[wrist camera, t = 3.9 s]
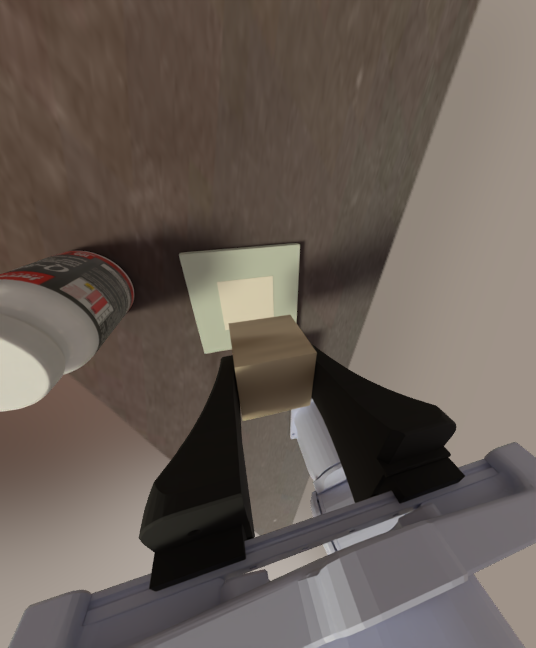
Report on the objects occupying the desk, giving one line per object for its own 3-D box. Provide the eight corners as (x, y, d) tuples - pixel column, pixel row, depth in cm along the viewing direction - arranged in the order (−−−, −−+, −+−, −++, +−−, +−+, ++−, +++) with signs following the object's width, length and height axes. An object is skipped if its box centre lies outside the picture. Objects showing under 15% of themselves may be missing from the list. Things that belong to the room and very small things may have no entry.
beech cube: (288, 360, 15) (310, 405, 12) (235, 370, 14) (242, 421, 11) (290, 314, 13) (316, 352, 10) (228, 323, 12) (234, 367, 9)
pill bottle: (93, 234, 14) (-64, 278, 6) (151, 296, 18) (98, 381, 9) (27, 273, 15) (-205, 365, 7) (97, 328, 18) (-1, 436, 10)
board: (293, 334, 23) (295, 338, 23) (204, 349, 22) (204, 354, 21) (296, 242, 18) (300, 244, 17) (180, 252, 16) (178, 254, 16)
